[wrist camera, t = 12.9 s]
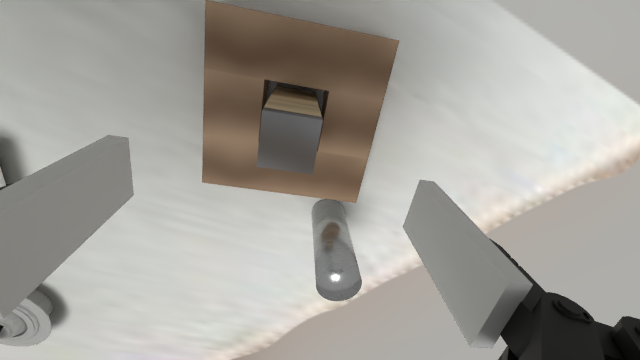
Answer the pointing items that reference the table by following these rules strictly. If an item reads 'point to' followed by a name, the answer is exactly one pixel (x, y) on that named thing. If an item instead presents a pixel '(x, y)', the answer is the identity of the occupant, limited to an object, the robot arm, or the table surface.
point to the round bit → (334, 252)
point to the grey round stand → (27, 321)
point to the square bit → (289, 131)
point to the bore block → (298, 69)
